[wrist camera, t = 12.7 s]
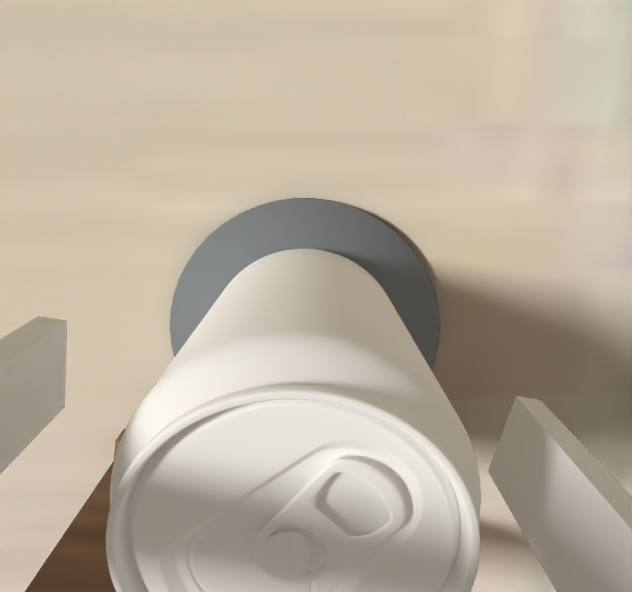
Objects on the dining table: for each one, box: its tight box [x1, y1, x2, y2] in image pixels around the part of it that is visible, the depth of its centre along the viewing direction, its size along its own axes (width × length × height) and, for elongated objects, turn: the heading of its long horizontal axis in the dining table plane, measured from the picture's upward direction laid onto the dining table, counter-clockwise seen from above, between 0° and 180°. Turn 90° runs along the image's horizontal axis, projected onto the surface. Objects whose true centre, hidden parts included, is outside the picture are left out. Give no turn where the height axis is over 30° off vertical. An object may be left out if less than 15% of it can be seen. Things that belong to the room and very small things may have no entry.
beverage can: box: [106, 249, 481, 592], centre depth 14 cm, size 8×8×12 cm
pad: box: [170, 198, 440, 369], centre depth 20 cm, size 12×12×1 cm
